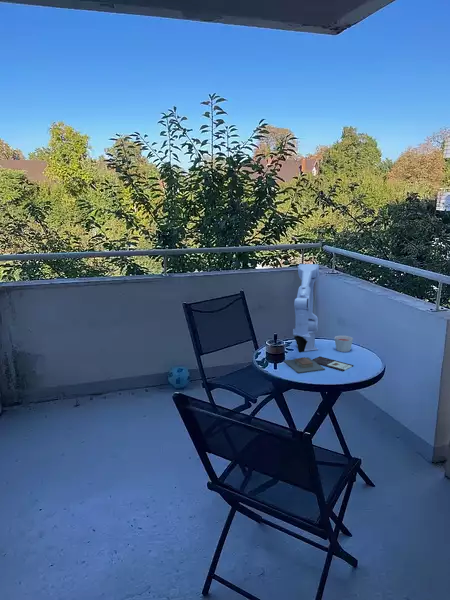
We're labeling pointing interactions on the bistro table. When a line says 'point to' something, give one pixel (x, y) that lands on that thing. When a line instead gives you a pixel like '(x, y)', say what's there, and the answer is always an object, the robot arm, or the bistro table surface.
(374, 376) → the bistro table surface
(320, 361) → the chocolate bar
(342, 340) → the candle
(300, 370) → the rubber mat
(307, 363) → the ash tile
